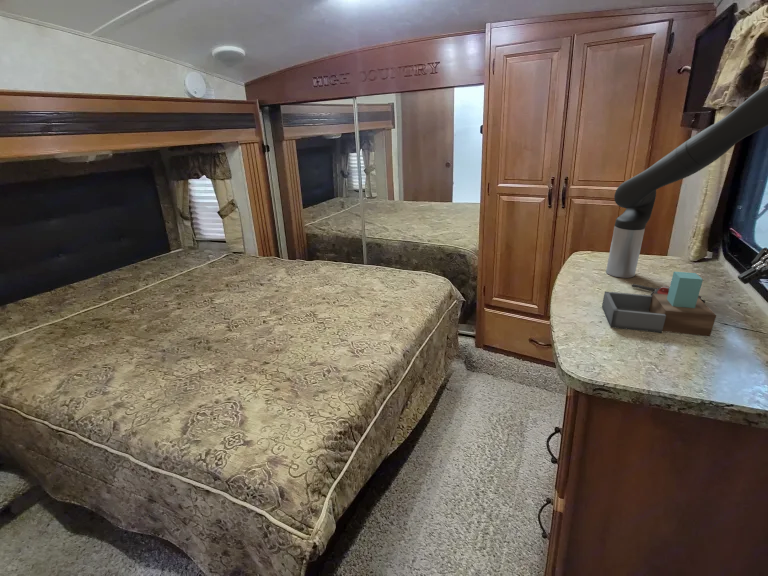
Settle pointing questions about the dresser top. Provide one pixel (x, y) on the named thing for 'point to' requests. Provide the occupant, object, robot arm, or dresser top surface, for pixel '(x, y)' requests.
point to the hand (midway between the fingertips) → (740, 280)
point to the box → (631, 312)
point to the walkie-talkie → (657, 290)
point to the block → (684, 289)
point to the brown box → (683, 316)
